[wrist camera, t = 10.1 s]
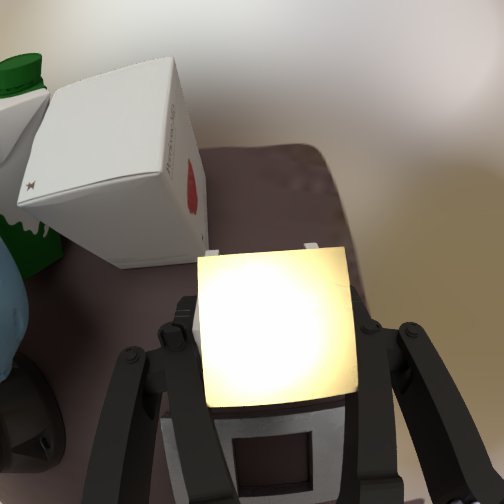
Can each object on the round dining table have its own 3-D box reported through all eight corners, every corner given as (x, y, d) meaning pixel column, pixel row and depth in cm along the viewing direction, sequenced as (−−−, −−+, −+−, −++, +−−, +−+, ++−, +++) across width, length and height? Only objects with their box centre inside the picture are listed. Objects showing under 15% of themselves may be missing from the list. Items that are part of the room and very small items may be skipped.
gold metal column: (232, 365, 20) (206, 407, 8) (228, 298, 21) (197, 257, 10) (301, 360, 20) (358, 391, 8) (295, 293, 21) (343, 246, 10)
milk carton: (74, 257, 26) (62, 64, 11) (8, 301, 20) (-68, 115, 5) (44, 209, 27) (34, 45, 13) (-15, 244, 21) (-59, 80, 7)
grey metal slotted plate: (181, 498, 19) (176, 508, 17) (166, 412, 22) (159, 418, 20) (366, 481, 19) (373, 489, 17) (368, 394, 22) (376, 399, 20)
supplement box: (212, 263, 25) (163, 176, 11) (119, 271, 25) (10, 209, 11) (207, 173, 28) (177, 51, 13) (124, 185, 27) (52, 88, 13)
